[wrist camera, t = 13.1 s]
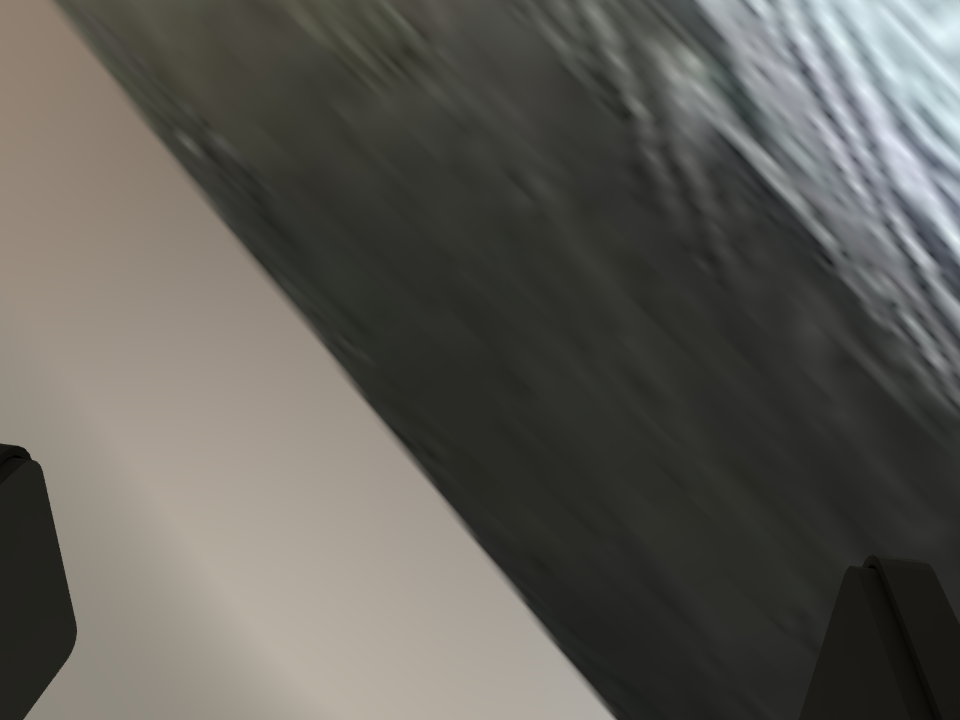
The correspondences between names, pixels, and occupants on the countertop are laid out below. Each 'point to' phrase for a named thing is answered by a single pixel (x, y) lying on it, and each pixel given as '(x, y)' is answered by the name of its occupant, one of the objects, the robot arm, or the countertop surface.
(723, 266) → the countertop surface
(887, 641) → the robot arm
